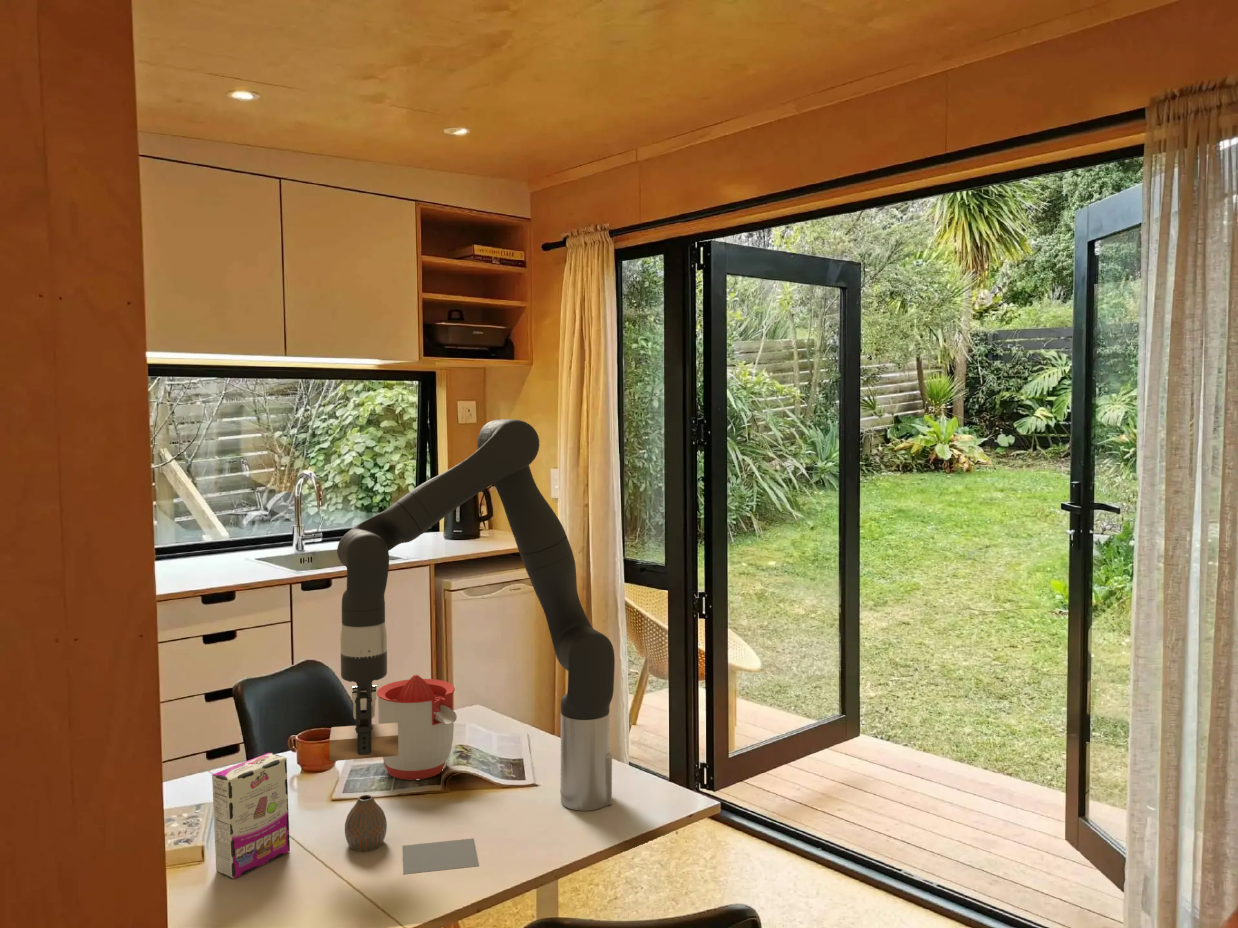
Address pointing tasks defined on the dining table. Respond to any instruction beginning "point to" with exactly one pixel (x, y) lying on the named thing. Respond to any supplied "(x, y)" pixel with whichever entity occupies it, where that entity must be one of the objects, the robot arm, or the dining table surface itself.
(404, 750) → the citrus juicer
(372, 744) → the wooden rectangular block
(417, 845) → the rubber mat
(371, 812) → the vase
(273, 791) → the candy bar box
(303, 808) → the dining table surface
